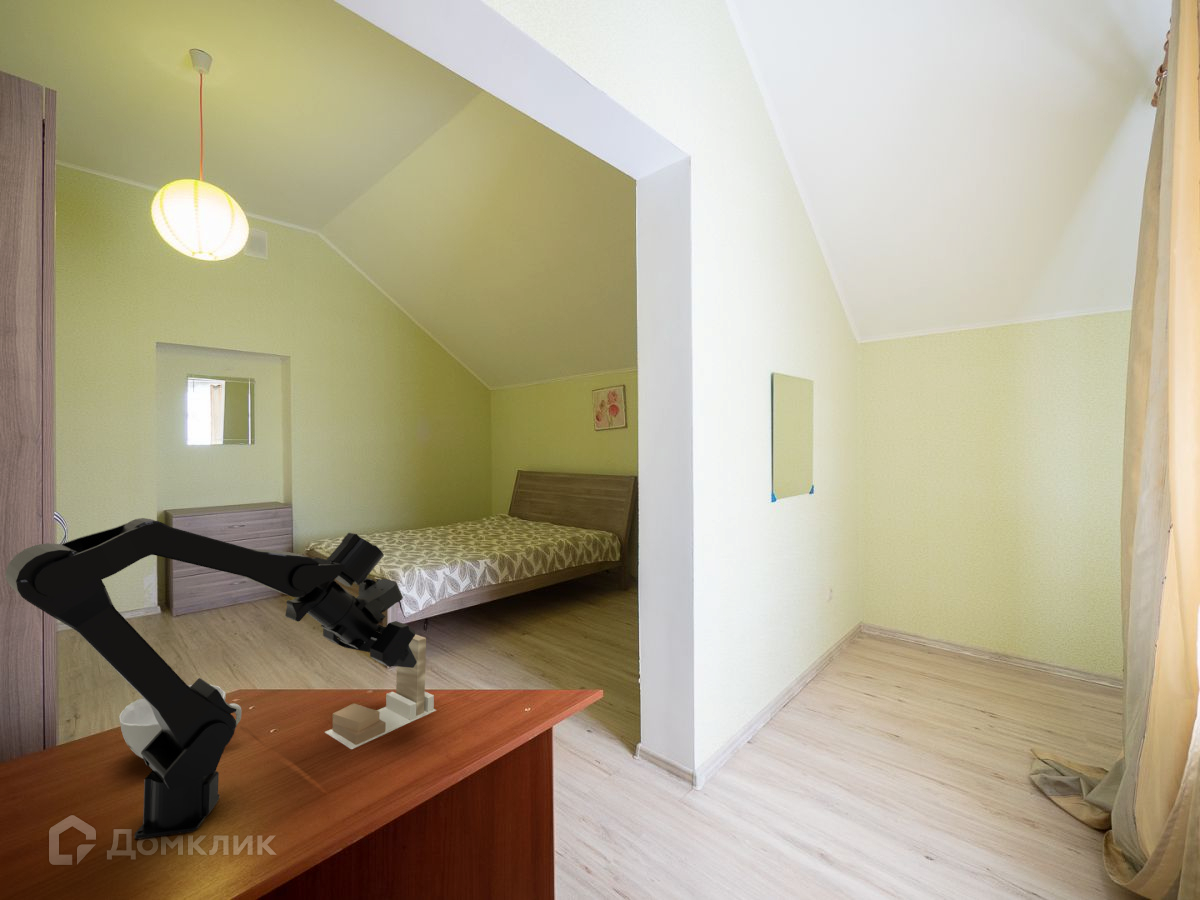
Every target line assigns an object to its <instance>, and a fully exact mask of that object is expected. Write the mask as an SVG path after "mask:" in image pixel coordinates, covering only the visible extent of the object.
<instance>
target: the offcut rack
mask: <svg viewBox="0 0 1200 900" xmlns="http://www.w3.org/2000/svg"><path fill="white" fill-rule="evenodd" d="M385 698H386V699H385V704H386V705H385V706H384V707H382V708H380V709H377V710H376V709H373V708H369V707H367V706H363V705H360V704H357V703H355V702H354V703H352V704H350V705H349V704H348V706H346V707H345V706H344V708H341V709H340V710H337V711H335V712H333V713H332V728H331V729H329V730H326V731H324V733H325V734H326V735H328V736H330V737H331V738H333V739H334V740H336V741H338V742H339V743H341V744H342V745H344V746H345V747H347V748H348V749H350V750H353V749H356V748H358V747H360V746H361V745H362V746H363V745H364V744H366V743H369V742H370V741H373V740H375V739H377V738H379V737H382V736H384V735H386V734H389V733H390V732H392V731H394V730H397V729H399V728H401V727H403V726H405V725H407V724H409V723H412V722H415V721H416V720H418V719H421V718H424V717H425V716H427V715H429V714H432V713H433V712H436V711H437V709H435V708H434V705H435V701H434V698H435V695H434V694H431V693H429V692H428V691H425V699H424V713H421V714H419V715H417V716H416V703H415V702H413V701H411V700H409V699H407V698H405V697H403V696H401V695H399V694H397V693H396V692H394V691H391V692H388V693H386V697H385Z"/></svg>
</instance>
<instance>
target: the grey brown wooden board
mask: <svg viewBox="0 0 1200 900" xmlns="http://www.w3.org/2000/svg"><path fill="white" fill-rule="evenodd" d="M409 647H410V649H411V651H412V653H413V655H414V657H415V659H416V661H417V663H416V665H415V666H414V668H409V667H397V666H396V685H395V686H396V687H395V693H397V694H399V695H401V696H403V697H405V698H407V699H409V700H411V701H413V702H415V703H416V716H417V715H419V714H421V713H424V699H425V692H426V691H425V690H426V660H427V653H426V652H427V638H426V637H425V636H421V635H419V634H416V633H415V636H414V638H413V639H412V641H411V642H410V643H409Z"/></svg>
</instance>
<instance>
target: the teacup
mask: <svg viewBox="0 0 1200 900" xmlns="http://www.w3.org/2000/svg"><path fill="white" fill-rule="evenodd" d="M209 684H210V683H209ZM187 685H188V684H187ZM192 685H193V684H189V685H188V686H190V687H191V686H192ZM210 685H211V686H213V687H214V688H216V689H217V690H218V691H219V693H220V694H221V696H222V698H223V699H224V701H225V702H226V696H227V694H226V691H224V690H223V689H222V688H221V687H220V686H218V685H214V684H210ZM229 704H230V705H231V706H232V707H234V708H235V709H236V712H234V714H235V720H236V724H237V725H238V724H239V722H240V721H241V719H242V707H241V706H240V705H239V704H237V703H229ZM118 719H119V724H120V730H121V734H122V737H123V739H124V741H125V744H126V745H127V747H128V748H129V749H130V750H131V751H132V753H134V754H135V756H137V757H139V758H141V759H143V757H142V755H141V752H142V750H143V749H144V748H145V747H146V746H147V745H148V744H149V743H150V742H151V740H152V739H153V738H154V737H155V736H156V735H157V734H158V733H159V732H160V731H161V730H162V728H161V727H160V725H159V723H158V722H157V720H156V718H155V715H154V713H153V711H152V708H151V706H150V704H149V703H148V702H147V701H146V700H145V699H144V698H143V697H142V698H138V699H137V700H135V701H132V702H131V703H130V704H127V705H126V706H125V708H124V709H123V710H122V711H121V713H120V714H119V717H118Z"/></svg>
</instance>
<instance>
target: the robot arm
mask: <svg viewBox="0 0 1200 900" xmlns="http://www.w3.org/2000/svg"><path fill="white" fill-rule="evenodd" d="M384 555H385V554H384V552H383V551H382V550H381V548H379V547H378V546H377V545H374V544H372V543H371V542H369V541H367V540H366V539H364V538H361V537H360V536H359V535H358V534H357V533H354V532H353V533H352V532H348V533H347V534H346V535H345V536H344V538H343V539H342V541H341V543H340V544H338V546H337V547H336V548H335V549H334V550H333V552H331V554H330V555H329V556H328V557H327V558H325V559H324V558H321V557H316V556H315V557H309V556H308V555H307V556H306V555H303V554H298V553H295V552H289V551H284V550H283V551H282V550H273V549H272V550H271V549H260V548H258V549H256V548H248V547H246V546H241V545H238V544H233V543H231V542H230V543H229V542H226V541H223V540H218V539H215V538H212V537H208V536H204V535H201V534H198V533H193V532H191V531H186V530H184V529H179V528H176V527H172V526H170V525H167V524H166V523H164V522H162V521H159V520H156V519H151V518H145V517H141V518H135V519H132V520H130V521H129V522H126V523H124V524H121V525H118V526H116V527H113V528H109V529H105V530H102V531H101V530H100V531H98V532H95V533H91V534H87V535H83V536H80V537H77V538H74V539H71V540H69V541H66V542H62V543H61V544H60V543H49V542H48V543H47V542H45V543H40V544H34V545H32V546H30V547H27V548H25V549H23V550H22V551H20V552H19V553H17V554H15V556H14V557H13V558H12V559H11V560H10V561H9V562H8V565H7V566H6V571H5V574H4V576H5V580H6V582H7V584H8V585H9V586H10V587H11V589H12V590H14V591H15V592H16V594H18V595H19V596H20V597H21V598H23V599H24V600H25V601H26V602H28V603H30V604H31V605H33V606H34V607H36V608H38V609H39V610H41V611H42V612H44V613H45V614H47V615H49V616H51V617H52V618H54V619H55V620H57V621H58V622H61V623H62V624H65V625H66V626H68V627H70V628H71V629H73V630H75V632H76V633H77V634H78V635H79V636H80V637H81V638H83V640H85V642H87V643H88V645H90V647H92V648H93V649H94V651H96V652H97V654H99V655H100V657H102V658H103V659H104V660H105V662H107V664H109V665H110V666H111V667H112V668H113V670H114V671H116V672H117V673H118V674H119V675H120V676H121V677H122V678H123V679H124V680H125V681H126V682H127V683H128V684H129V685H130V686H131V687H132V688H133V689H134V690H135V691H136V692H137V693H138V694H139V695H140V696H141V697H142V699H143V698H144V699H145V700H146V701H147V702H148V703H149V704H150V706H151V708H152V711H153V713H154V715H155V718H156V720H157V722H158V723H159V725H160V727H161V728H162V730H161V731H160V732H159V733H158V734H157V735H156V736H155V737H154V738H153V739H152V740H151V742H150V743H149V744H148V745H147V746H146V747H145V748H144V749H143V750H142V752H141V755H142V757H143V758H142V759H143V761H144V762H145V765H146V766H147V767H149V768H150V769H152V771H150V773H149V774H148V775H147V776H146V777H144V780H143V782H144V784H143V785H144V787H143V812H142V813H143V814H142V815H143V817H142V824H141V826H139V828H138V829H137V830H136V831H135V832H134V839H138V840H139V839H143V838H144V839H146V838H153V837H154V838H155V837H160V836H167V835H169V836H170V835H176V834H185V833H191V832H192V833H193V832H195V831H197V830H198V829H199V827H200V826H201V825H202V824H203V822H204V821H205V819H206V818H207V816H208V815H209V814H210V813H212V811H213V809H214V808H215V806H216V805H217V803H218V802H219V800H220V794H219V779H220V776H219V772H218V771H217V768H218V766H219V763H220V761H221V758H222V756H223V753H224V751H225V749H226V747H227V745H228V744H229V743H230V742H231V740H232V738H233V736H234V735H235V730H236V728H237V726H238V724H236V717H235V716H234V715H233V713H234V714H235V712H236V709H235V708H234V707H232V706H231V705H230V704H231V703H229V702H227V701H226V700H225V701H224V699H223V698H222V696H221V694H220V693H219V691H218V690H217V689H216V688H214V687H213V686H214V685H213V686H211V685H212V684H211V685H210V683H208V682H207V681H205V680H204V679H202V678H201V677H198V678H197V679H196V680H195V681H194V682H193V684H191V685H192V686H191V687H190V686H188V684H187V683H186V682H185V681H184V680H183V679H182V678H181V677H180V676H179V675H178V674H177V672H176V671H175V670H174V669H173V668H172V667H171V666H170V665H169V663H167V662H166V661H165V660H164V659H163V657H161V656H160V654H159V653H158V652H157V651H156V650H155V649H154V648H153V647H152V646H151V645H150V644H149V643H148V642H147V641H146V640H145V638H144V637H143V636H142V635H141V634H140V633H139V632H138V631H137V630H136V629H135V627H133V626H132V625H131V624H130V622H128V621H127V619H125V617H124V616H123V615H122V614H121V613H120V612H119V611H118V610H117V609H116V607H115V605H114V603H113V602H112V600H111V597H110V595H109V594H110V593H109V592H108V590H107V588H106V585H105V584H104V582H103V580H104V579H107V578H109V577H112V576H114V575H116V574H118V573H119V572H121V571H123V570H125V569H126V568H128V567H130V566H132V565H133V564H135V563H137V562H138V561H140V560H142V559H144V558H147V557H150V556H157V557H161V558H164V559H169V560H174V561H178V562H183V563H186V564H191V565H194V566H199V567H203V568H208V569H211V570H216V571H219V572H224V573H229V574H231V575H237V576H242V577H243V578H246V579H247V580H250V581H252V582H254V583H256V584H258V585H260V586H263V587H265V588H267V589H270V590H273V591H276V592H279V593H280V594H284V595H287V596H289V597H292V598H294V599H289V600H286V602H285V603H286V608H285V615H284V616H285V618H288V619H290V620H292V621H295V622H298V623H299V622H301V621H302V620H303V618H304V617H305V616H306V615H308V616H311V618H313V619H314V620H315V621H317V622H318V623H320V627H321V628H322V631H323V632H322V636H323V637H324V638H325V639H327V640H328V641H330V642H332V644H333V643H334V644H336V645H338V646H340V647H343V648H346V649H350V650H357V651H361V652H366V653H369V657H370V658H372V659H373V660H374V661H376V662H378V663H379V664H381V665H384V666H386V667H388V668H392V667H396V668H397V667H409V668H414V666H415V665H416V663H417V661H416V659H415V657H414V655H413V653H412V651H411V649H410V647H409V643H410V642H411V641H412V639H413V638H414V636H415V634H416V631H415V629H414V628H412V627H411V626H410V625H408V624H405V623H402V622H400V621H398V620H395V621H392V622H388V624H386V626H383V625H380V624H381V623H382V622H383V621H384V619H385V618H386V615H384V614H383V613H384V612H386V611H388V610H389V609H390V608H391V607H392V606H394V605H395V604H397V603H400V602H401V601H402V600H403V598H404V596H403V594H402V592H401V589H400V588H399V585H398V583H397V581H395V580H391V579H388V578H382V579H381V578H377V579H376V580H374V579H372V578H369V577H368V576H369V575H370V573H371V572H372V571H374V568H376V566H377V565H378V563H379V562H380V561H381V560H382V558H383V557H384ZM338 582H339V583H340V584H341V585H340V584H339V583H338ZM342 585H344V586H345V587H349V588H351V587H352V586H353V585H356V586H358V596H357V597H355V596H354V595H352V594H351V593H350V592H349V591H347V589H345V588H344V587H343V586H342Z"/></svg>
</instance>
